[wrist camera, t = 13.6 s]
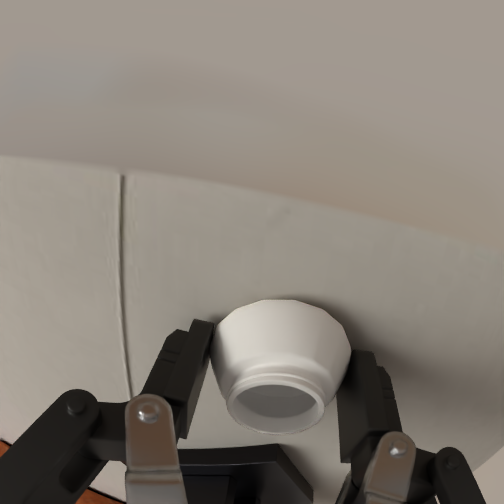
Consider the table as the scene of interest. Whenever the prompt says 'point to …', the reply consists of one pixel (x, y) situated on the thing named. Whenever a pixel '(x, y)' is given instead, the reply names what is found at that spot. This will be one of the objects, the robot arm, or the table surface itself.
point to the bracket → (242, 476)
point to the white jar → (279, 364)
